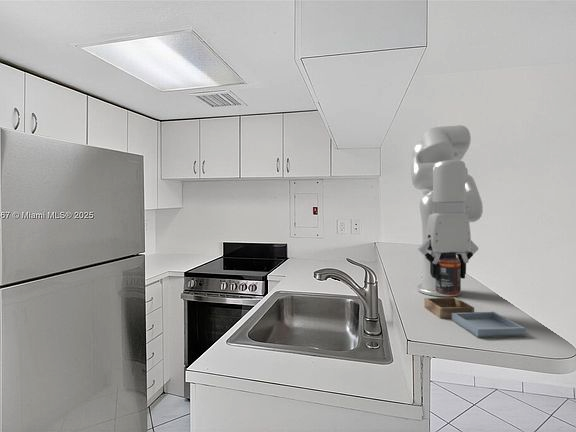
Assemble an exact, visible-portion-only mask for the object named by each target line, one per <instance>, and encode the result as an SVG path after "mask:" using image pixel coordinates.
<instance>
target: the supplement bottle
mask: <svg viewBox="0 0 576 432" xmlns="http://www.w3.org/2000/svg"><path fill="white" fill-rule="evenodd" d="M438 264H439V265H440V279H436V291H437V292H438V293H440V294H445V295H457V294H459V293H460V290H461V288H462V284H461V281H462V280H461V279H462V278H461V262H460V259H458V258H457V254H456V253H455V252H449V253H441V255H440V258H439V260H438ZM461 291H462V290H461ZM457 296H458V295H457Z"/></svg>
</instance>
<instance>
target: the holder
mask: <svg viewBox="0 0 576 432" xmlns="http://www.w3.org/2000/svg"><path fill="white" fill-rule="evenodd" d="M423 304H424V306H423V307H424V308H425V309H426V310H427V311H429V312H430V313H432V314H433V315H434V316H435V317H437V318H439V319H452V313H470V312H475V307H474V306H473V305H470V304H468V303H467V302H465V301H463V300H461V299H459V298H457V297H456V296H452V297H428V298H427V297H425V298H424V303H423Z"/></svg>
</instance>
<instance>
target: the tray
mask: <svg viewBox="0 0 576 432" xmlns="http://www.w3.org/2000/svg"><path fill="white" fill-rule="evenodd" d="M451 321H452V322H453V323H455V324H457V325H458V326H460V327H461V328H462V329H464V330H465V331H467V332H469V333H470V334H471V335H473V336H474V337H476V338H477V339H485V338H486V339H490V338H518V337H519V338H521V337H527V335H526V334H527V330H526V327H524V326H522V325H520V324H519V323H516V322H514V321H513V320H511V319H509V318H507V317H505V316H503V315H501V314H499V313H497V312H495V311H478V312H477V311H476V312H475V311H474V312H470V313H452V318H451Z"/></svg>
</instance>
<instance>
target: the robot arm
mask: <svg viewBox="0 0 576 432" xmlns="http://www.w3.org/2000/svg"><path fill="white" fill-rule="evenodd" d="M471 142H472V141H471V132H470V130H469V128H468V127H467V126H465V125H449V126H448V125H446V126H435V127H431V128H428V129H427V130H426V131H425V132H424V134H423V136H422V141H420V142H418V143H416V144H414V146H413V148H412V152H411V159H412V161H411V163H410V164H411V165H410V166H411V167H410V175H411V182H412V185H413V187H414V188H416V190H420V191H421V192H422V194H423V196H422V197H421V198H420V201H419V212H420V218H421V228H422V229H421V230H422V231H421V234H422V244H421V245H420V247H419V248H418V252H419V253H420V254H422V263H421V264H422V265H421V267H422V272H421V273H422V275H421V279H422V282H421V283H420V284H418V285H417V287H416V289H417V291H418V292H419V293H422V294H425V295H428V296H434V297H442V298H451V297H456V296H459V295H461V293H462V290H460V293H459V294H457V295H445V294H440V293H438V292H437V291H436V279H440V265H439V264H438V260H439V258H440V255H441V253H449V252H455V253H456V254H457V255H456V257H457V258H458V259H460V262H461V279H465V278H466V274H467V264H468V263H469V260H470V259H471V258H472V257H473V256H474V254H475V253H476V252H478V251H479V247H478V246H477V245H476V243H474V241H473V240H471V239H472V237H471V226H470V223H474V222H477V221H479V220H480V219H481V217H482V215H483V213H484V212H483V211H484V209H483V208H484V207H483V202H482V199H481V195H480V192H479V190H478V189H479V188H478V186H477V184H476V181H475V179H474V177H473V176H472V175H470V174H469V173H468V172H469V170H468V167H466V163H465V162H464V160H462V159H463V158H464V156H465V155H466V153H467V152H468V150H469V148H470V146H471Z"/></svg>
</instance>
